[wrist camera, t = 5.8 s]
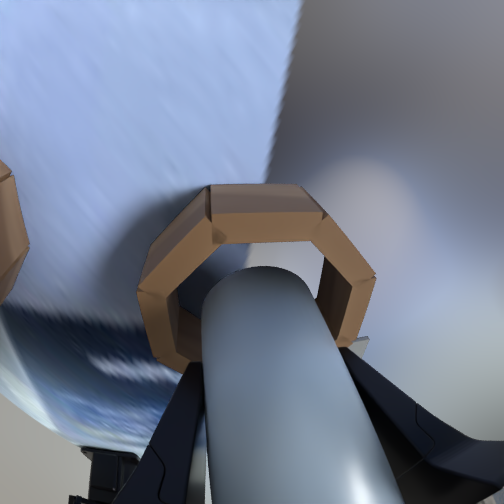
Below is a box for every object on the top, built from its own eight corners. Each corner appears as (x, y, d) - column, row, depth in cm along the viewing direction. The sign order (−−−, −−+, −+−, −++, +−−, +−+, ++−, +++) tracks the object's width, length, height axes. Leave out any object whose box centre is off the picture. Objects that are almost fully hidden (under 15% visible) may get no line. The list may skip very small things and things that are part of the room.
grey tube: (303, 345, 13) (369, 534, 5) (205, 354, 12) (225, 564, 4) (320, 263, 11) (449, 503, 3) (197, 269, 10) (212, 573, 2)
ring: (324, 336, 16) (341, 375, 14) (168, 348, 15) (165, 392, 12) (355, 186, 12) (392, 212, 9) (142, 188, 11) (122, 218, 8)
